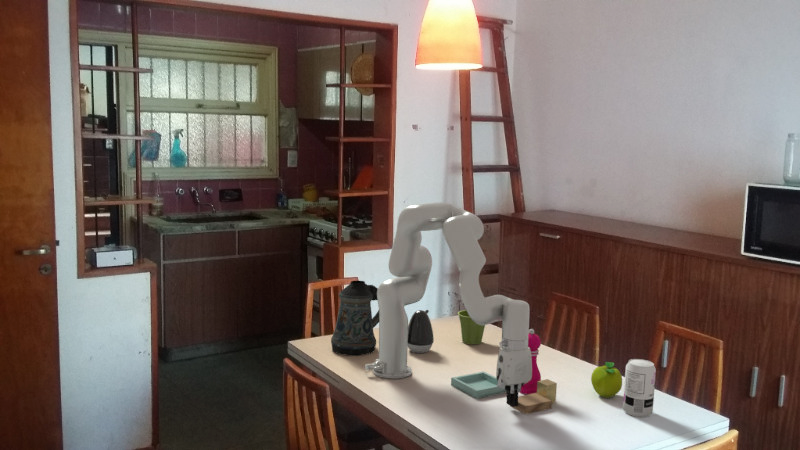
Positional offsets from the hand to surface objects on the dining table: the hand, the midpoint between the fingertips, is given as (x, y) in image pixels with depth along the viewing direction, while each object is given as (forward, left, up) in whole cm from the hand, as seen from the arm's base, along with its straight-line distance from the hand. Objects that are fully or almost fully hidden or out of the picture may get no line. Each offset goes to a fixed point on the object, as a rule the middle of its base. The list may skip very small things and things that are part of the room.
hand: (512, 404), depth 208 cm
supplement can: (+32, -19, -2) cm, 37 cm away
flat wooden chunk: (+6, -1, -2) cm, 7 cm away
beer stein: (-12, +72, -2) cm, 73 cm away
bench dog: (+14, 0, -2) cm, 14 cm away
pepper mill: (+15, +9, -2) cm, 17 cm away
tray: (+3, +18, -2) cm, 19 cm away
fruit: (+34, -5, -2) cm, 34 cm away
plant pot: (+31, +59, -2) cm, 67 cm away
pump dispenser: (+7, +59, -2) cm, 60 cm away
